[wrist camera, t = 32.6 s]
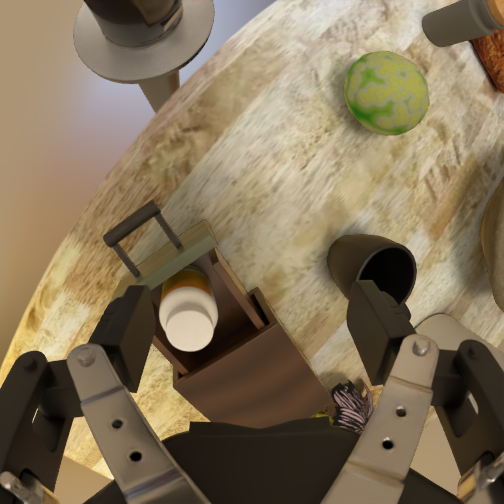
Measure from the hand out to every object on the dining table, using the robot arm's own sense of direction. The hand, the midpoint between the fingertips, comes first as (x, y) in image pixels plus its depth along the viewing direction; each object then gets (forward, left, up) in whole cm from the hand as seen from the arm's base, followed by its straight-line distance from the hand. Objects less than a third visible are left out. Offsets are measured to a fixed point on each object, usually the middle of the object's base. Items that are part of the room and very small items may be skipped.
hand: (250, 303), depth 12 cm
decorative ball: (-2, +24, -24) cm, 34 cm away
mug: (+16, +12, -24) cm, 31 cm away
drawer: (+5, -6, -23) cm, 24 cm away
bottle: (-7, +44, -24) cm, 50 cm away
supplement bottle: (+5, -6, -22) cm, 23 cm away
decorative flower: (+35, -1, -24) cm, 43 cm away
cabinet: (+18, -6, -24) cm, 31 cm away
